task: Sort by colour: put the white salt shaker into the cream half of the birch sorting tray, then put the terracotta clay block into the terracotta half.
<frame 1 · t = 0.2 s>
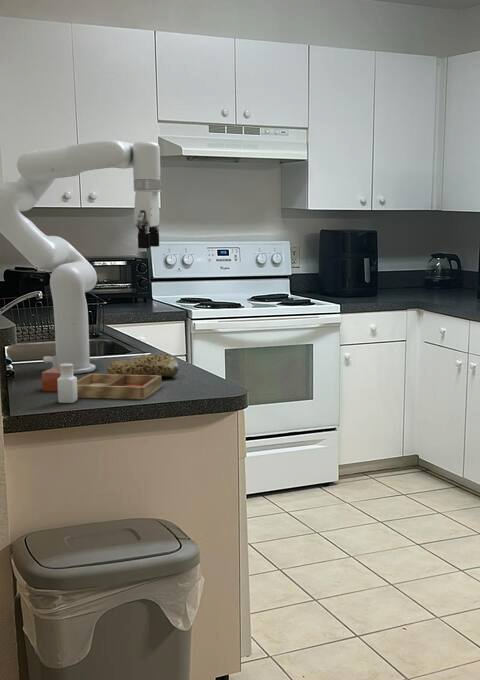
hand: (148, 247, 258), 37 cm above the counter, tool pointing down, fingers open, 9 cm apart
sorting tray: (116, 391, 238), on the counter
clay block: (55, 389, 240), on the counter
sponge: (142, 380, 254), on the counter
salt shaker: (68, 402, 225), on the counter
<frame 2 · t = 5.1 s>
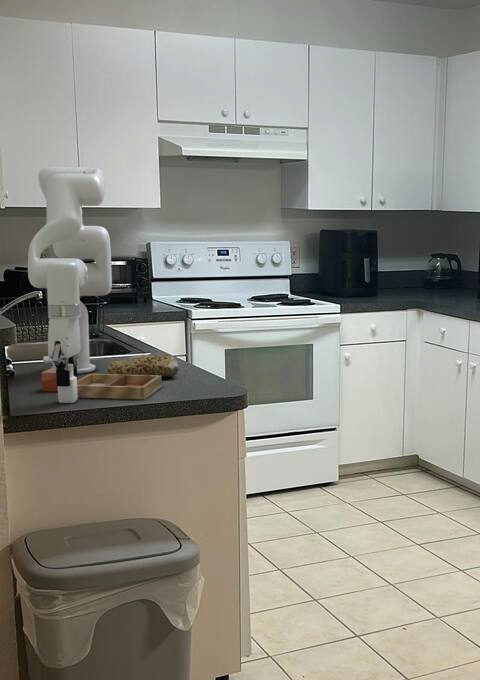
hand: (67, 383, 225), 5 cm above the counter, tool pointing down, fingers closed on salt shaker, 4 cm apart
salt shaker: (68, 402, 225), on the counter, touching gripper
everything else where it was.
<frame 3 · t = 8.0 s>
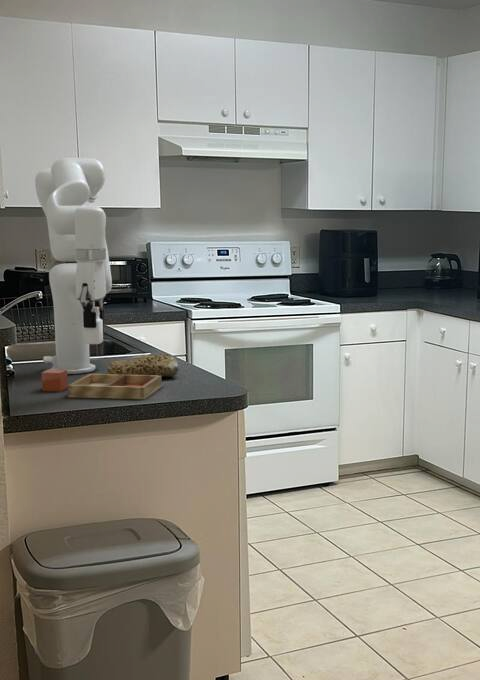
hand: (93, 325, 234), 18 cm above the counter, tool pointing down, fingers closed on salt shaker, 4 cm apart
salt shaker: (94, 344, 235), point 13 cm above the counter, touching gripper
everything else where it was.
when the fingers open (6 cm above the counter, at t = 11.2 s): salt shaker stays where it is, resting on sorting tray.
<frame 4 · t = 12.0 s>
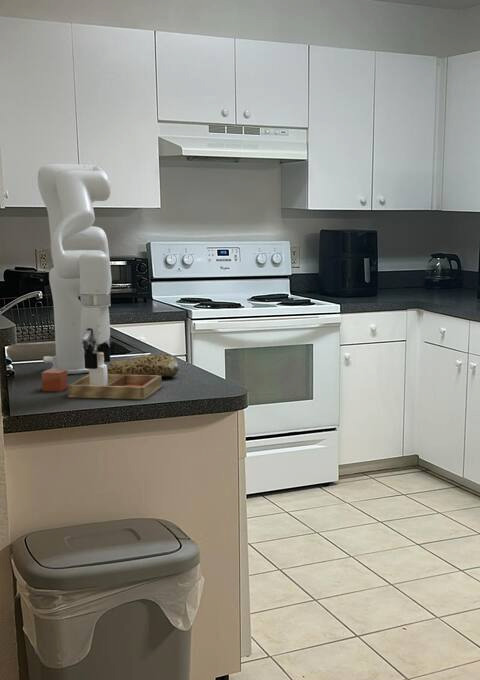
hand: (97, 365, 237), 7 cm above the counter, tool pointing down, fingers open, 9 cm apart
salt shaker: (98, 389, 238), point 1 cm above the counter, touching sorting tray
everything else where it was.
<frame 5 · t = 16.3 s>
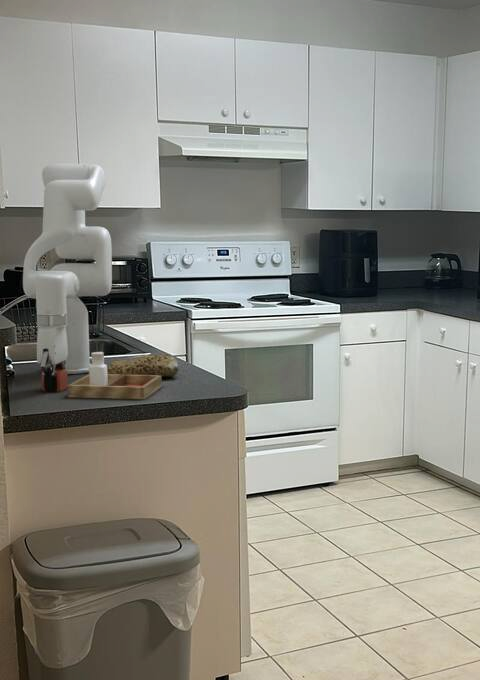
hand: (55, 387, 240), 0 cm above the counter, tool pointing down, fingers closed on clay block, 5 cm apart
clay block: (55, 389, 240), on the counter, touching gripper
everything else where it was.
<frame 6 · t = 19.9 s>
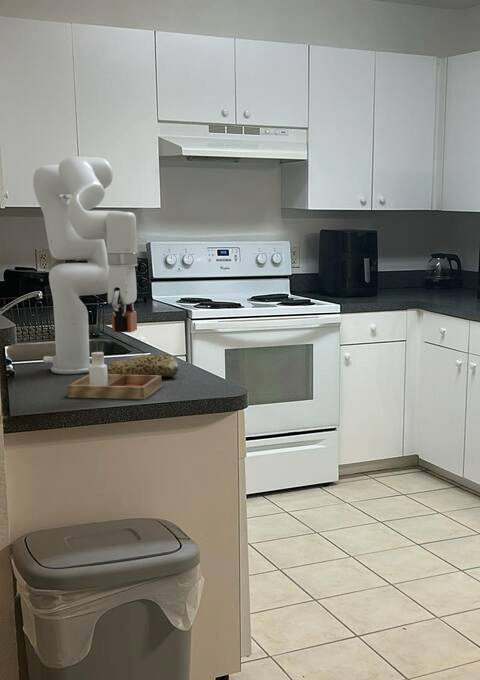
hand: (124, 329, 235), 17 cm above the counter, tool pointing down, fingers closed on clay block, 5 cm apart
clay block: (124, 331, 235), point 16 cm above the counter, touching gripper
everything else where it was.
when the fingers open (1 cm above the counter, at t = 23.9 s): clay block stays where it is, resting on sorting tray.
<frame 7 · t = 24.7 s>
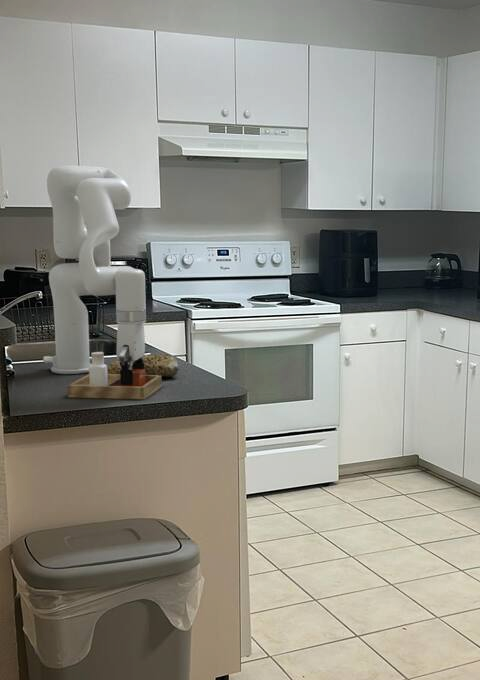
hand: (132, 381, 237), 3 cm above the counter, tool pointing down, fingers open, 9 cm apart
clay block: (133, 389, 237), point 1 cm above the counter, touching sorting tray
everything else where it was.
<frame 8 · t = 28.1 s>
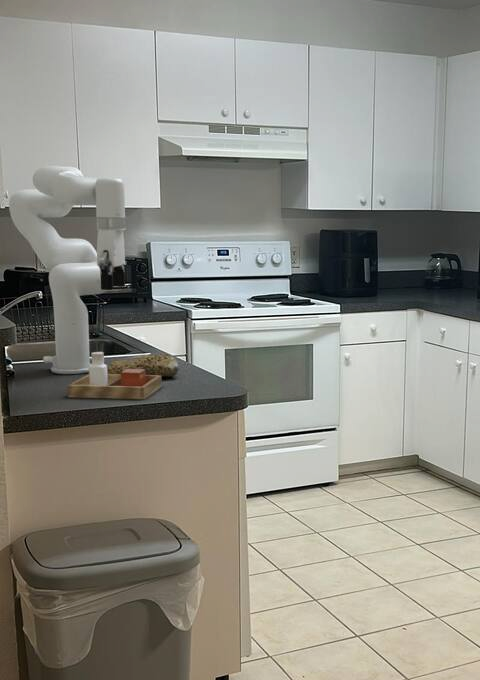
hand: (113, 287, 245), 26 cm above the counter, tool pointing down, fingers open, 9 cm apart
nothing on the counter moved.
at the end: salt shaker inside the target area on the sorting tray (0.0 cm from its centre), point 0.6 cm above the sorting tray's base; clay block inside the target area on the sorting tray (0.1 cm from its centre), point 0.8 cm above the sorting tray's base; salt shaker tilted 0° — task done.
